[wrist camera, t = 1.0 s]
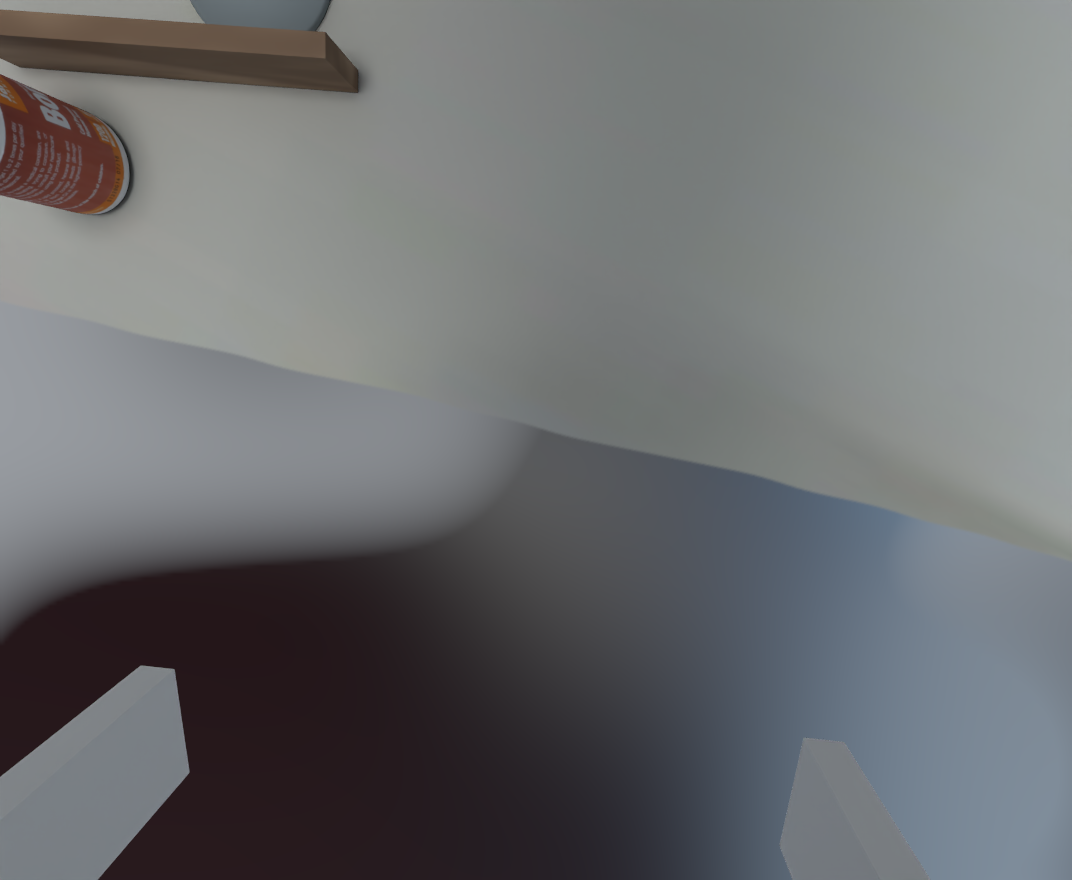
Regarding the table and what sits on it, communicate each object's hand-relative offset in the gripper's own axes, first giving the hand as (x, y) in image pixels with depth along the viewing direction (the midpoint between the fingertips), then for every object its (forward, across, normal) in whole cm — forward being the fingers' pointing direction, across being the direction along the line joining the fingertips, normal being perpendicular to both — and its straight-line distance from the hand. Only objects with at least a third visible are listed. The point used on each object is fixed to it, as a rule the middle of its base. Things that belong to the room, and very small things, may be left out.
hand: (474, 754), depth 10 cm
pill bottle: (+25, -31, +17) cm, 43 cm away
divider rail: (+25, -24, +23) cm, 41 cm away
